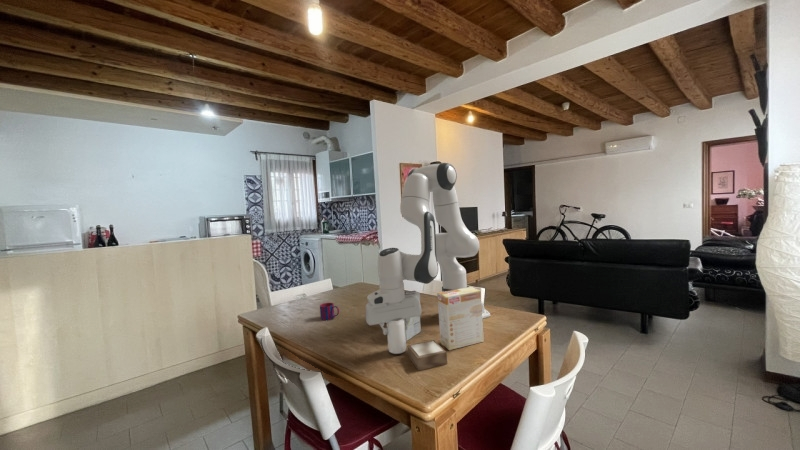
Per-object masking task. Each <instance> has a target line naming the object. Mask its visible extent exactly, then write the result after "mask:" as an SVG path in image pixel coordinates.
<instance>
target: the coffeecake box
mask: <svg viewBox="0 0 800 450" xmlns="http://www.w3.org/2000/svg"><path fill="white" fill-rule="evenodd" d="M481 292H482V291H481V290H480V289H479V288H478V289H477V288H475V287H473V286H469V287H467V288H462V289H456V290H451V291H445V292H442V291H440V292H437V309H438V323H439V324H438V325H439V336H440V338H439V339H440V344H441V346H443V347H445V348H446V349H447V350H449V351H452V350H456V349H459V348H463V347H464V348H465V347H467V346H471V345H475V344H480V343H483V342H484V340H485V339H484V337H485V336H484V325H483V319H482V305H481V301H482V293H481Z"/></svg>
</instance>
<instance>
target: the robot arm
mask: <svg viewBox="0 0 800 450" xmlns="http://www.w3.org/2000/svg"><path fill="white" fill-rule="evenodd" d="M457 177H458V176H457V171H456V168H455V167H454V166H453V165H452V164H451V163H448V162H441V163H432V164H428V165H425V166H421V167H416V168H414V169H412V170H410V171H409V173H408V174H407V177H406V179H405V181H404V182H405V183H404V185H403V190H402V194H401V199H400V205H399V206H400V207H399V211H400V214H401V216H402V217H403V219H404V220H405V221H407V222H408V223H410V224H413V225H415V226H416V227H417V228H418V229H419V231H420V245H421V246H420V247H421V248H420V250H421V252H420V254H412V253H411V254H410V253H404V252H402V251H401V250H400V249H399V248H397V247H389V248H385V249H383V250H381V251H379V252H378V255H377V274H378V278H379V287H378V288H379V289H377V290H375V291H373V292H371V293H369V294H368V295H367V296H366V297H367V301H368V302H367V303H366V305H365V321H366V323H367V325H369V326H375V325H379V326H380V328H381V329H382V334H383V335H384V336H386V335H387V334H388V329H387V327H385V323H386V324H387V322H391V320H400V319H405V320H406V321H405V330H408V328H407V326H408V324H409V322H410V318H411V317H417V316H420V317H421V315H422V313H423V312H422V306H421V302H420V301H421V294H420V292H419V291H416V290H411V291H405V284H404V281H405V280H406V281H411V282H418V283H421V284H430V283H432V282H433V281H434V280H435V279H436V277H438V273H439V268H440V273H441V281H442V287H441V292H445V291H451V290H456V289H462V288H467V287H470V285H468V283H467V282H468V280H467V270H466V268H465V267H464V266H463V265H462V264H460V263H459V262H458V260H457V258H471V257H475V256H476V255H477V254H478V253H479V250H480V247H481V246H480V245H481V244H480V241H479V238H478V237H477V236H476V234H474V233H472V232H471V231H470V230H469V229H468V228H467V226H466V225H465V223H464V221H463V219H462V215H461V210H460V204H459V197H458V194H457V190H456V187H455V184H456V182H457ZM431 192H432V203H433V210H434V215H433V213H431V211H430V196H431ZM434 216H435V217H434ZM436 223H437V224H438V225H439V226H441V227H442V228H444V230H445V231H446V232H438V233H437V232H436ZM481 305H482V320H483V319H485V318H489V317H491V313H490V312H489V310H487V309H486V308H485V306H484V302H483V301H482V300H481Z"/></svg>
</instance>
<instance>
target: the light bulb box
mask: <svg viewBox="0 0 800 450" xmlns="http://www.w3.org/2000/svg"><path fill="white" fill-rule="evenodd" d="M405 321H406V320H405V319H404V322H405ZM407 328H408V330H405V336H406V342H407V341H409V340H410V339H412V338H413V337H415V336H416V335H418V334H419V333H421V331H422V329H421V315H420V316H417V317H411V318H410V322H409V324H408V326H407Z"/></svg>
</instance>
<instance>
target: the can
mask: <svg viewBox="0 0 800 450" xmlns="http://www.w3.org/2000/svg"><path fill="white" fill-rule="evenodd" d="M386 328H387V329H388V334H386V335H387V336H386V337H387V347H388V348H387V349H388V352H389V353H390V354H393V355H400V354H404V353H405V352H406V351H407V341H406V336H405V322H404V319H400V320H391V322H386Z"/></svg>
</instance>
